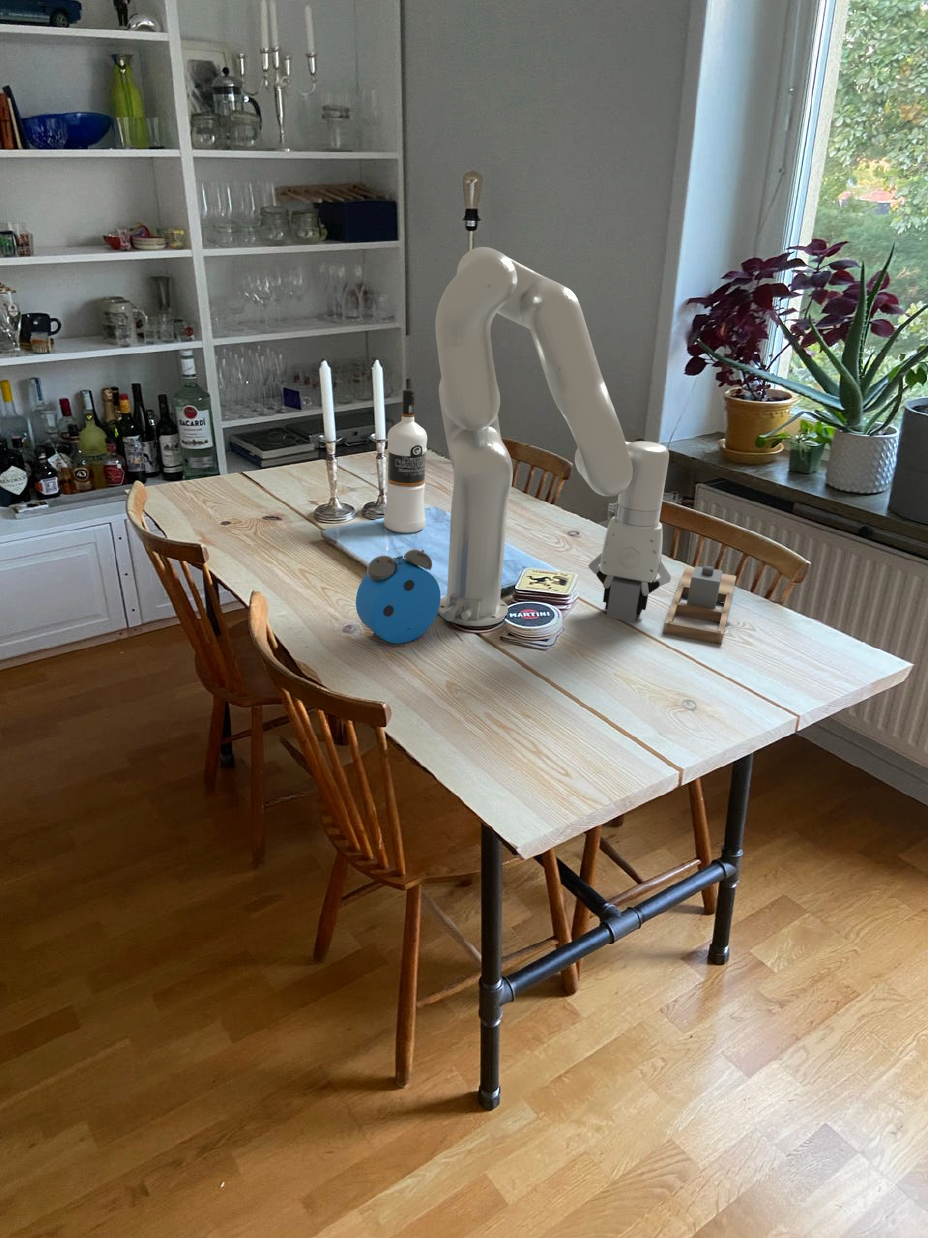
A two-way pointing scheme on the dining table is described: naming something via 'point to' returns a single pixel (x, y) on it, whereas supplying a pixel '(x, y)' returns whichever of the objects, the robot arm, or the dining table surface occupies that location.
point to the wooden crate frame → (699, 610)
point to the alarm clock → (398, 597)
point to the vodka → (406, 471)
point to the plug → (623, 599)
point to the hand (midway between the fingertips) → (623, 608)
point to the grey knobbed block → (704, 587)
